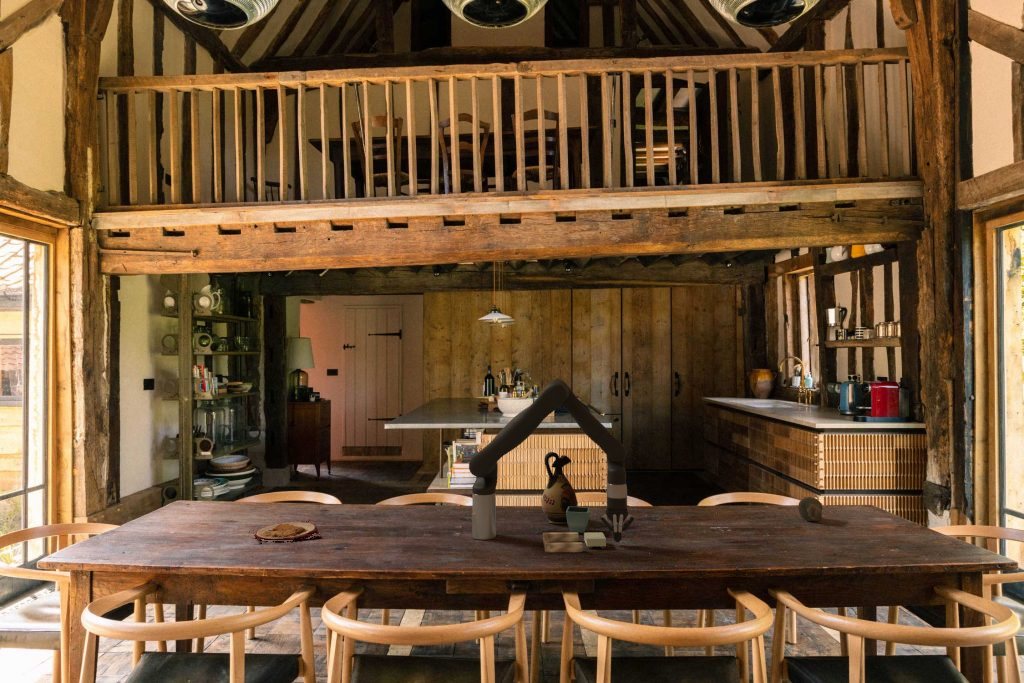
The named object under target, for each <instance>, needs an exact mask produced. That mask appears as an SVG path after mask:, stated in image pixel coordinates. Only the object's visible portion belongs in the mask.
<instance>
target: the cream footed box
mask: <svg viewBox="0 0 1024 683" xmlns="http://www.w3.org/2000/svg"><path fill="white" fill-rule="evenodd" d="M583 536H584V537H583V539H584V540H583V541H584V542H585V544H586V547H587V548H588V549H589V550H591V549H593V548H594V547H600V548H601V549H602V550H604V549H605V548H606V547H607V538H606V536H605V534H604V533H603V532H584V533H583Z"/></svg>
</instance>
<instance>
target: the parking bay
mask: <svg viewBox="0 0 1024 683" xmlns="http://www.w3.org/2000/svg"><path fill="white" fill-rule="evenodd" d="M579 535H580V534H579V533H578V532H571V531H570V532H543V533H542V543H543V546H544V552H545V553H583V551H584V546H583V544H584V543H583V542H579V539H580V538H579Z"/></svg>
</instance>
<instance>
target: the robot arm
mask: <svg viewBox="0 0 1024 683" xmlns="http://www.w3.org/2000/svg"><path fill="white" fill-rule="evenodd" d="M560 407H562V409H564V410H565V411H566V412H567V413H569V415H570V416H572V418H573V420H574V421H575V422H576V424H577V425H578V427H579V428H580V429H581V431H582V432H583V433H584V434H585V435H586V436H587V437H588V438H589V439H590V440H591V441H592V443H593V442H594V444H596V445H597V446H598V447H599V448H600V450H602V452H603V453H604V454H605V455H606V465H607V472H606V473H607V475H606V476H607V478H606V481H607V483H606V510H605V513H604V514H603V515H600V517H599V518H600V520H601V522H602V523H603V524H604V525H605V526H606V527H607V528H606V529H608V531H610V532H612V539H613V541H614V542H615V543H620V541H622V532H625V531H627V530H628V528H629V527H630V525H631V524H632V523H633V522H634V520H635V518H634V516H633V515H631V514H629V511H628V487H627V471H626V468H625V466H626V465H625V464H626V463H625V460H626V457H627V455H628V454H627V453H628V451H627V448H626V447H625V446H624V444H623V443H622V442H620V441H619V440H618V439H617V438H616V437H615V436H614V435H613V434H611V432H610V431H609V430H608V428H606V426H605V425H604V424H602V422H600V421H599V420H598V419H597V417H595V416H594V415H593V414H592V413H591V412H590V411H589V410H588V409H587V407H585V405H584V404H583V403H582V402H581V401H580V399H579V398H578V397H577V396H576V395H575V393H574V392H573V390H572V389H571V387H570V386H569V385H568V384H567V383H566V382H565V381H564V380H562V379H559V378H558V379H557V378H556V379H552V380H551V381H549V382H548V384H546V385H545V387H544V389H543V391H542V392H541V393H540V395H539V396H537V398H536V399H535V400H534V401H533V402H532V403H531V404H530V405H529V406H527V407H526V408H525V409H522V411H520V412H519V413H518V414H516V415H515V416H514V417H513V418H512V419H511V420H509V422H507V423H506V424H505V426H504V427H503V428H502V429H501V430H500V431H499V432H498V433H497V434H496V435H495V436H494V438H493V439H492V440H491V441H490V442H489V443H488V444H487V445H485V446H484V447H483V448H482V449H480V450H479V451H477V452H476V453H475V454H474V455H472V456H471V458H470V460H469V462H468V469H469V472H470V473H471V475H472V476H474V477H476V478H475V481H474V483H473V485H472V488H471V489H472V490H471V491H472V494H471V495H472V500H471V501H472V510H471V511H472V514H471V536H472V537H471V539H475V540H491V539H494V538H496V536H497V529H496V528H497V526H496V525H497V521H496V519H497V518H496V517H497V516H496V514H497V513H496V511H497V510H496V509H497V508H496V506H497V505H496V502H497V501H496V499H497V498H496V494H497V493H496V491H497V486H498V478H499V476H498V472H499V471H498V470H499V469H498V468H499V466H498V465H499V464H498V461H499V460H500V459H502V458H503V457H504V456H505V455H507V454H508V453H510V452H512V451H513V450H514V449H516V448H517V447H518V446H520V445H521V444H523V442H525V441H526V440H527V439H528V438H529V437H530V436H531V435H532V433H534V432H535V431H536V429H537V428H538V427H539V426H541V424H542V422H543V421H544V420H545V419H546V418H547V417H548V416H550V415H551V414H552V413H553V412H554V411H556V410H558V409H559V408H560ZM608 519H609V520H610V522H611V524H612V526H611V524H609V522H608ZM625 520H626V521H625ZM624 521H625V522H624ZM623 523H624V524H623Z"/></svg>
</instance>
